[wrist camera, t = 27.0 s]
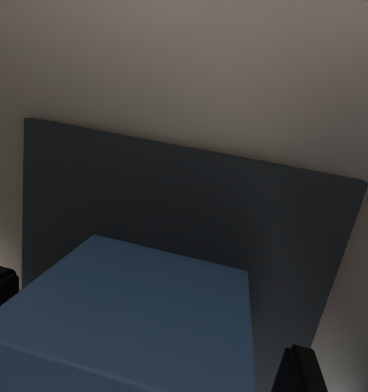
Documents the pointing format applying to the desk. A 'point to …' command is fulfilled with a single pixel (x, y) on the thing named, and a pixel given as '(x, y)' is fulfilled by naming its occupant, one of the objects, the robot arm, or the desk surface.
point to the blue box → (129, 324)
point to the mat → (194, 219)
